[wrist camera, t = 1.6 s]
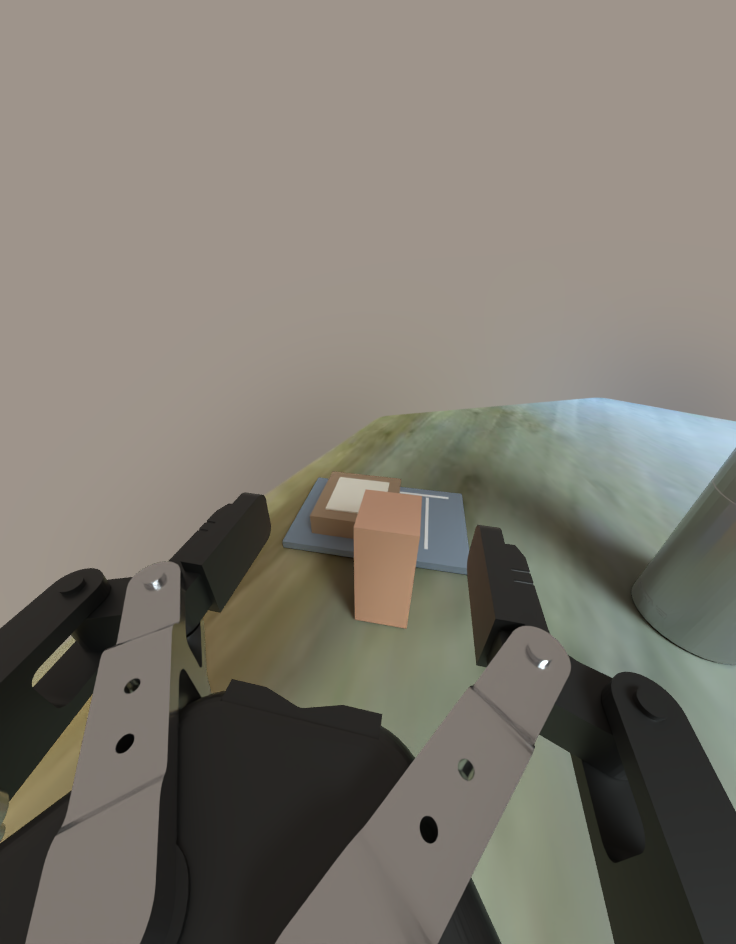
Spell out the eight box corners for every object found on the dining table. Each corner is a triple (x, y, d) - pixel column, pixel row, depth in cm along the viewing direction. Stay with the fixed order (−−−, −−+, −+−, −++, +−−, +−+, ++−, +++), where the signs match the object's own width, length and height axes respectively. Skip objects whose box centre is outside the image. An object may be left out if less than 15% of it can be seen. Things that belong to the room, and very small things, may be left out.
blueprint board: (460, 499, 46) (465, 477, 44) (469, 575, 34) (477, 549, 32) (318, 482, 49) (317, 461, 47) (283, 547, 38) (278, 522, 35)
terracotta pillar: (409, 584, 33) (421, 496, 27) (406, 628, 29) (419, 536, 23) (364, 577, 34) (365, 489, 28) (354, 619, 30) (353, 527, 23)
